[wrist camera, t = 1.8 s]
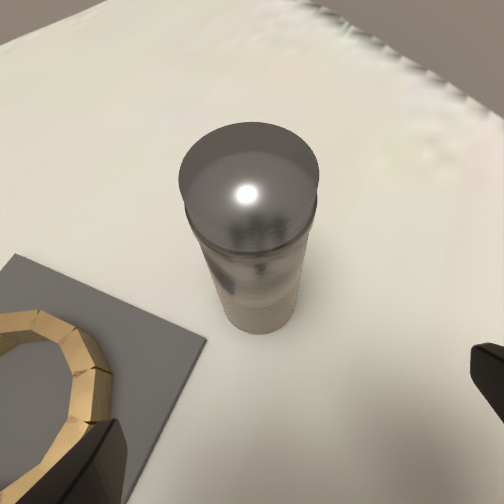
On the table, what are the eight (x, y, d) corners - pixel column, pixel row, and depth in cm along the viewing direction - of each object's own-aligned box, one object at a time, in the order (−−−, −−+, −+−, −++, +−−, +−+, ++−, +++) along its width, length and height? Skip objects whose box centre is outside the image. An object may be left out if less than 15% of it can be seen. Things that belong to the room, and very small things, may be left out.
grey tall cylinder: (307, 279, 24) (341, 141, 13) (280, 348, 22) (290, 256, 11) (240, 254, 25) (215, 107, 14) (208, 317, 23) (148, 204, 12)
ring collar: (144, 361, 22) (130, 353, 19) (34, 558, 17) (-1, 577, 15) (18, 300, 24) (-8, 286, 22) (-107, 460, 20) (-155, 463, 17)
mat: (206, 340, 23) (205, 338, 22) (49, 658, 16) (41, 666, 15) (20, 257, 26) (15, 253, 26) (-171, 488, 20) (-183, 490, 19)
